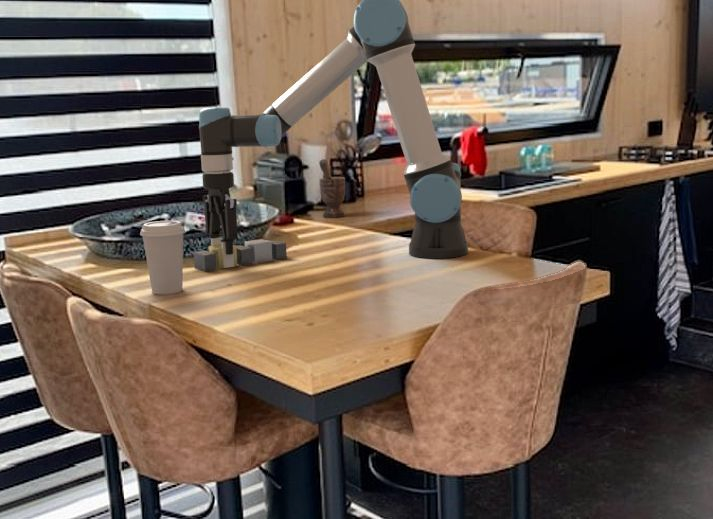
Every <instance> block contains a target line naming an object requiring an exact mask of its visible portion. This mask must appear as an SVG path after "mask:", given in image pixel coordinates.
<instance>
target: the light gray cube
mask: <svg viewBox="0 0 713 519" xmlns="http://www.w3.org/2000/svg"><path fill="white" fill-rule="evenodd" d="M271 241H272V240H266V239H263V238H260V239H254V240H248V241H247V240H246V241H244V246H245V247H249V248H252V261H253V263H254V264H258V263H265V262H270V261H271V262H272V261H273V259H272V244H271Z"/></svg>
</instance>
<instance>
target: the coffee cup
mask: <svg viewBox="0 0 713 519" xmlns="http://www.w3.org/2000/svg"><path fill="white" fill-rule="evenodd" d="M185 233H186V230H185V227H184V226H183V224H182V222H181V221H178V220H160V221H159V220H158V221H157V220H156V221H151V222H145V223H144V224H143V225H142V228H141V229H140V233H139V235H140V236H141V237H142V241H143V248H144V252H145V257H146V264H147V270H148V274H149V281H150V287H151V293H152V294H154V295H159V296H160V295H163V296H164V295H165V296H166V295H173V294H177V293H180V292H182V291H183V286H184V285H183V278H184V277H183V276H184V274H183V272H184V271H183V267H184V266H183V265H184V262H183V261H184V234H185Z"/></svg>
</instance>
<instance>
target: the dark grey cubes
mask: <svg viewBox="0 0 713 519" xmlns="http://www.w3.org/2000/svg"><path fill="white" fill-rule="evenodd" d="M270 241H271V244H272V260H276V261H279V260H284V259H287V252H288V251H287V243H286V242H284V241H280V240H279V241H278V240H276V239H275V240H273V239H272V240H270ZM235 246H236V251H237V266H238V265H239V266H249V265H253V261H252V248H249V247H245V245H241V244H239V245H235ZM193 263H194V269H197V270H199V271H203V272H211V271H218V270H217V269H218V268H216V254H215V253H211V252H209V250H208V251H207V250H198V251H193Z"/></svg>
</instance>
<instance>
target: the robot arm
mask: <svg viewBox="0 0 713 519" xmlns="http://www.w3.org/2000/svg"><path fill="white" fill-rule="evenodd" d="M415 46H416V43H415V41H414V37H413V33H412V29H411V26H410V23H409V17H408V14H407V11H406V9H405V7H404V5H403V3H402V2H401V1H400V0H361V1H360V2H359V4H358V5H357V6H356V8H355V12H354V15H353V26H352V27H351V28H350V29H349V30H348V31H347V37H346V38H345V39H344V40H343V41H342V42H341V43H340V44H338V46H336V47H335V48H334V49H332V51H331V52H330V53H328V54H327V55H326V56H325V57H324V58H323V59H322V60H321V61H319V62H318V63H317V64H316V65H315V66H313V68H311V69H310V70H309V71H307V73H306V74H305V75H303V76H302V77H301V78H300V79H299V80H298V81H297V82H296V83H294V84H293V85H292V86H291V87H290V88H289V89H288V90H286V91H285V92H284V93H283V94H282V95H281V96H280V97H279V98H277V99H276V100H275V101H274V102H273V103H272V104H271V105H270V106H268V107H266V109H265V110H264V111H263V112H262V113H260V114H248V115H245V114H244V115H233V114H232V113H231V109H230V108H229V107H204V108H201V109H200V110H199V112H198V113H199V115H198V119H199V120H198V121H199V124H198V130H199V140H200V154H201V155H200V161H201V171H202V172H204V173H203V174H202V187H203V189H206V190H208V194H207V195H203V196H202V201H203V206H204V226H205V234H206V235H209V238H210V246H214V245H221V244H222V259H223V268H222V269H227V268H234V267H235V266H234V254H233V245H234V242H235V240H237V239H238V236H239V234H238V221H237V218H238V216H237V202H238V201H237V199H236V198H231V192H230V189H232V188H234V186H235V179H234V177H235V176H234V173H233V172H232V171H233V169H234V166H233V165H234V164H233V163H234V162H233V161H234V157H233V148H239V147H240V148H241V147H243V148H244V147H245V148H248V147H254V148H255V147H263V148H268V147H277V146H278V145H280V143H281V140H282V138H283V136H284V135H285V134H286V133H287V132H288V131H289V130H290V129H291V128H292V127H294V125H296V124H297V123H298V122H299V121H300V120H301V119H303V118H304V117H305V116H306V115H307V114H308V113H310V112H311V111H312V110H313V109H314V108H316V106H318V105H319V103H321V102H322V101H323V100H324V99H326V98H327V97H328V96H329V95H331V93H333V92H334V91H335V90H336V89H337V88H338V87H339V86H341V85H342V84H343V83H344V82H345V81H347V80H348V79H349V77H351V76H353V74H354V73H355V72H357V71H358V70H359V69H360V68H361V67H362V66H364V65H365V64H366V63H367V62H368V63H370V64H371V65H373V66H374V67H376V71H377V75H378V77H379V80H380V82H381V86H382V89H383V92H384V93H383V94H384V96H385V99H386V102H387V105H388V109H389V112H390V115H391V118H392V120H393V121H392V122H393V124H394V126H395V127H394V128H395V130H396V134H397V136H398V140H399V142H400V147H401V150H402V152H403V155H404V156H403V157H404V159H405V162H406V167H405V169H404V171H403V177H404V180H405V183H406V186H407V189H408V192H409V201H410V202H409V203H410V206H411V209H412V210H413V212H414V222H415V223H414V226H413V230H412V234H411V239H410V242H409V243H408V254H409V255H410V256H412V257H417V258H421V259H422V258H424V259H448V258H450V259H451V258H457V257H463V256H465V255H467V254H469V244H468V241H467V239H466V238H467V237H466V235H465V232H464V228H463V226H462V219H461V215H462V209H461V208H462V206H461V205H462V202H463V196H462V191H461V190H462V189H461V177H462V172H461V166H460V164H458V163H456V162H452V159H451V157H449V156H447V155H446V154H443V152H442V149H441V146H440V143H439V140H438V136H437V132H436V129H435V127H434V126H435V125H434V124H433V121H432V120H433V119H432V116H431V113H430V111H429V107H428V104H427V101H426V98H425V95H424V91H423V88H422V84H421V83H420V79H419V74H418V72H417V69H416V66H415V61H414V59H413V55H412V53H413V51H414V48H415Z"/></svg>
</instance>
